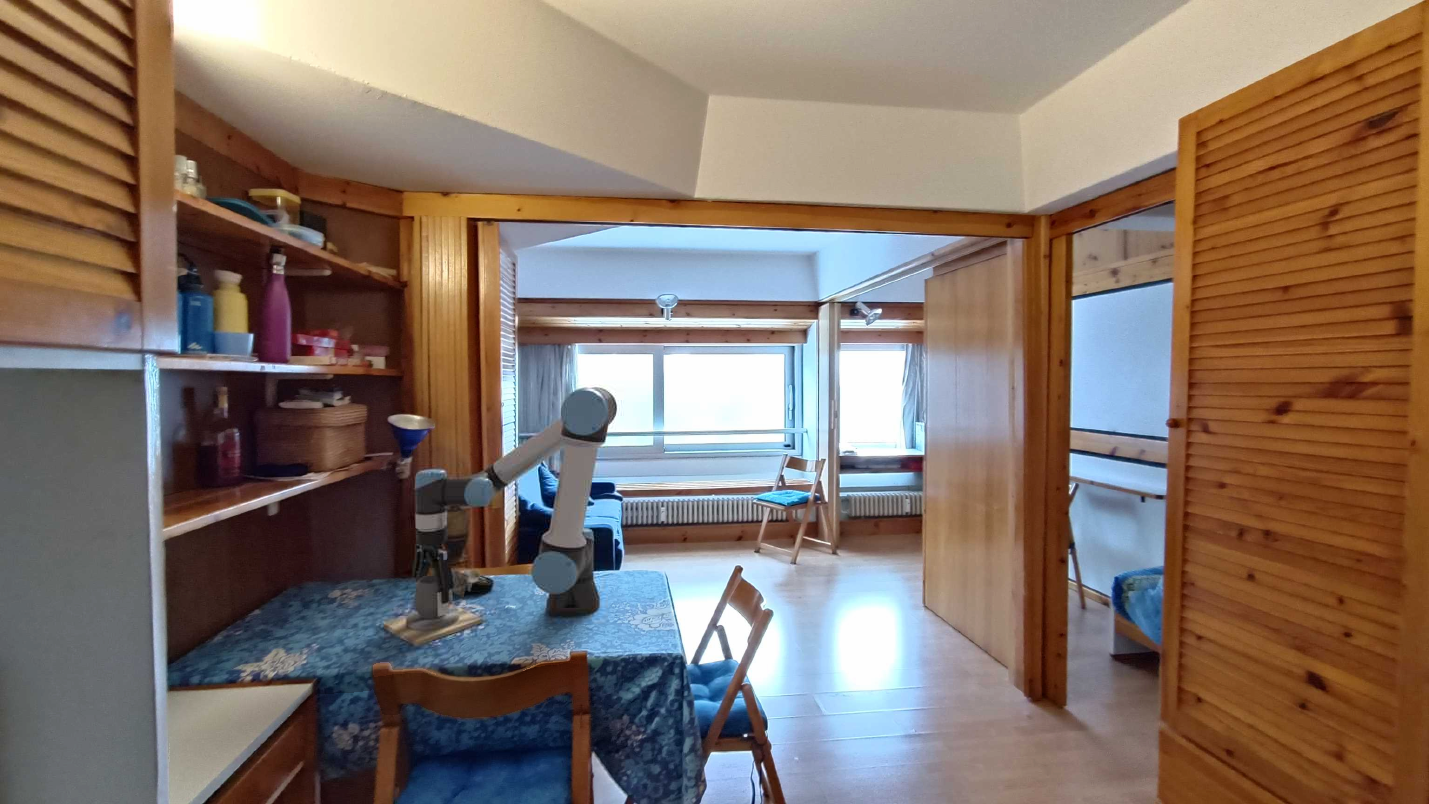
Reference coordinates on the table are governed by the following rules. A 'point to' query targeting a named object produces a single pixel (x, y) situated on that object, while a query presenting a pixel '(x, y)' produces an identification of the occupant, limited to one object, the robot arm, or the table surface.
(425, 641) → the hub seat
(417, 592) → the cup
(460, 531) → the vase
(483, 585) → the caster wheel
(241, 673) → the table surface
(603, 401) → the robot arm
